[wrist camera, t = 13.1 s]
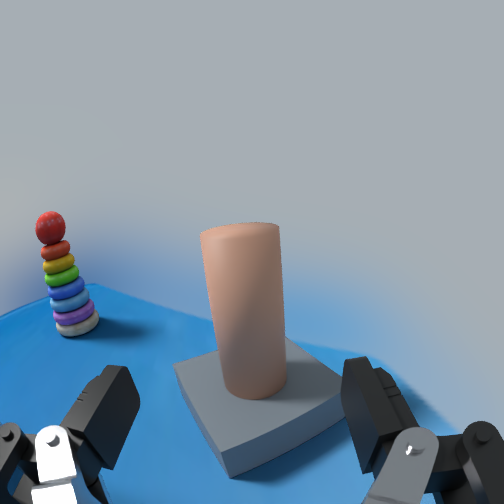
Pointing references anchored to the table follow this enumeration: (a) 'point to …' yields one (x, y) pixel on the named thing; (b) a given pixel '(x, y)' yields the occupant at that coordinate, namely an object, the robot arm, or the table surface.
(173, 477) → the table surface
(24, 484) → the robot arm
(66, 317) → the stacking toy
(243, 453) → the slate base block
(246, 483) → the table surface
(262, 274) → the terracotta peg
